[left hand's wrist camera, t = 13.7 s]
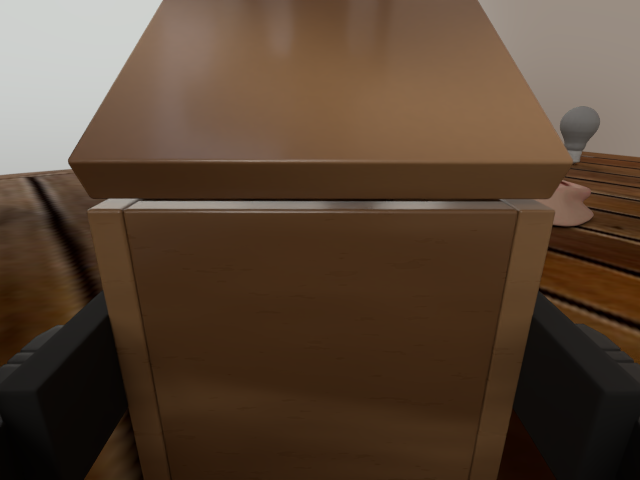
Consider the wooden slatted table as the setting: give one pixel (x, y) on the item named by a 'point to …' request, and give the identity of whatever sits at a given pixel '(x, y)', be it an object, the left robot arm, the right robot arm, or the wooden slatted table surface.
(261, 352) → the chest
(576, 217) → the anatomical model
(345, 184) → the lid
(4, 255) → the wooden slatted table surface
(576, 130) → the light bulb
